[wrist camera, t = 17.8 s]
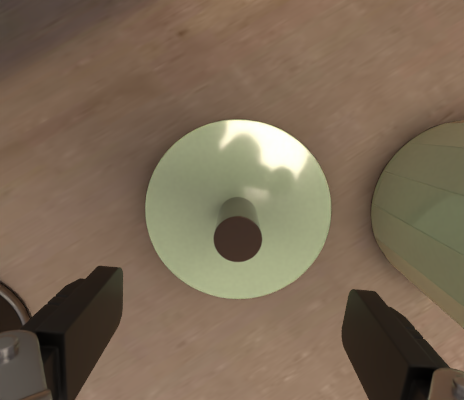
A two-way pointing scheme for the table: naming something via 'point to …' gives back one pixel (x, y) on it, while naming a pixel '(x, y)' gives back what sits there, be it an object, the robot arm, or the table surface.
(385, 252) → the jar
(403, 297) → the table surface
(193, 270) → the jar lid
